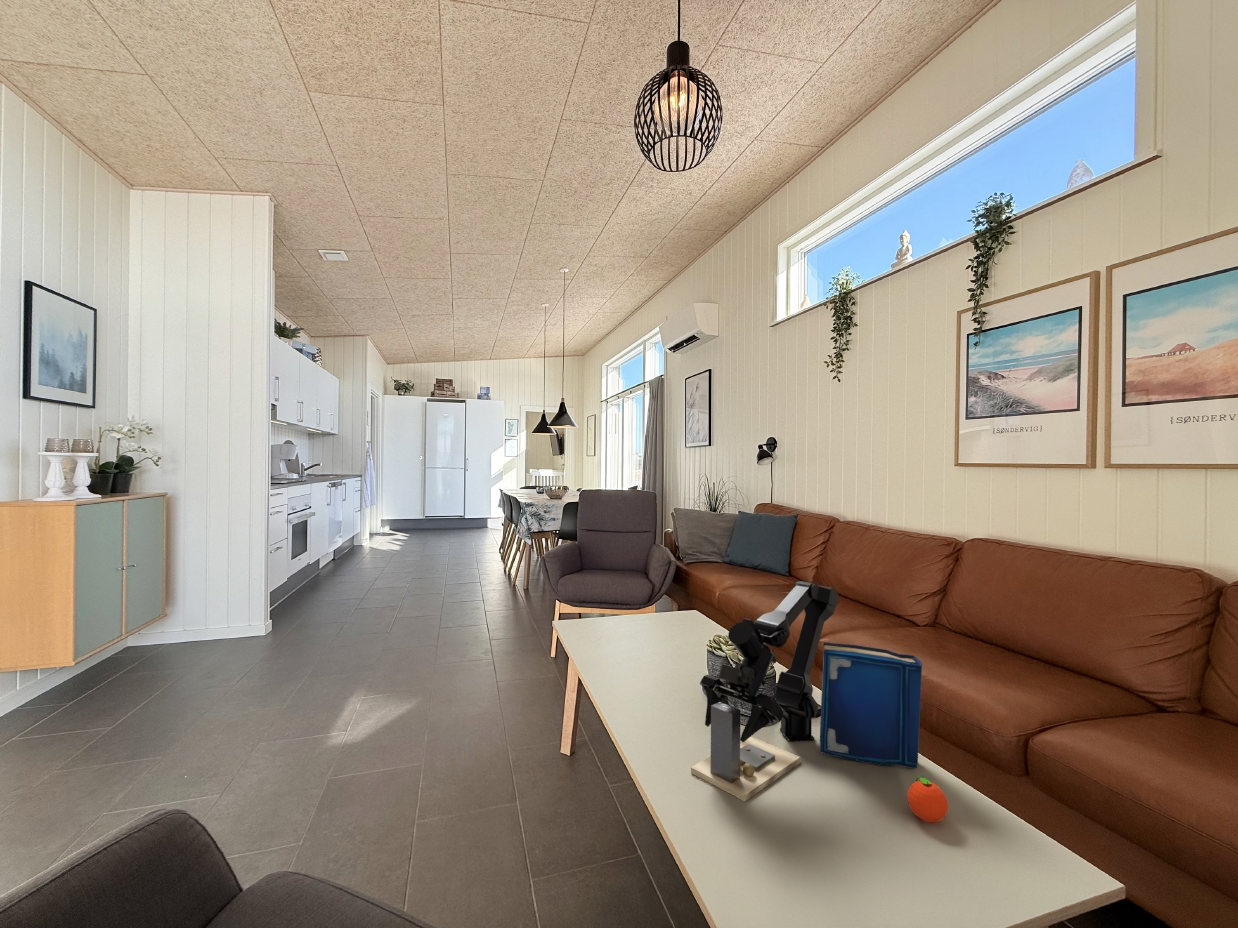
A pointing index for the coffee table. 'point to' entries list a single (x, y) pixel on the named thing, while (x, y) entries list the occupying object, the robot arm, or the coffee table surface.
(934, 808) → the clementine
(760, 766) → the board
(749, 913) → the coffee table surface
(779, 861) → the coffee table surface
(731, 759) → the grey block
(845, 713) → the book
